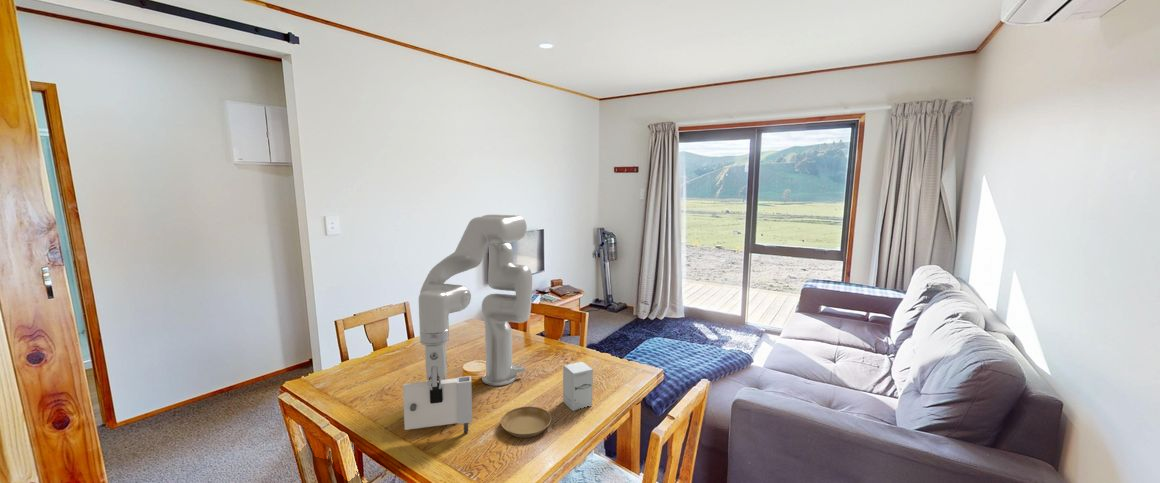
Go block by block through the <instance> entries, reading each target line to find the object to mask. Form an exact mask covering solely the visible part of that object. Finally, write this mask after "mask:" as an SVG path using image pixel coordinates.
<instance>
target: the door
mask: <svg viewBox="0 0 1160 483" xmlns="http://www.w3.org/2000/svg"><path fill="white" fill-rule="evenodd" d="M437 382H439V381H437ZM441 388H442V395H443V401H442V402H441V403H433V404H431V403H430V381H428V380H427V381H417V382H408V383H404V384H403V386H402V398H403V402H402V404H403V420H404V425H403V426H404V431H405V430H406V431H407V430H409V429H410V430H415V429H416V428H417V429H424V428H423V427H425V428H430V427H431V426H432V427H438V426H439V425H440V426H447V425H452V424H454V423H455V424H457V425H461V424H463V425H464V423H468V424H471V423H473V401H472V400H473V398H472V396H473V395H472V394H473V392H472V391H473V390H472V375H468V376H467V375H466V376H457V377H456V378H447V379H445V380H443V379H442V380H441ZM446 424H447V425H446ZM417 429H416V430H417Z"/></svg>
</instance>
